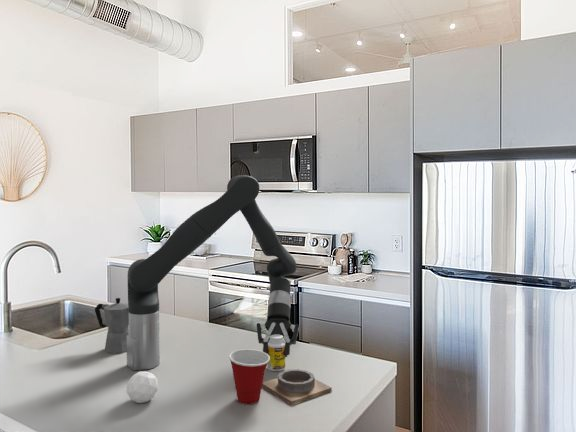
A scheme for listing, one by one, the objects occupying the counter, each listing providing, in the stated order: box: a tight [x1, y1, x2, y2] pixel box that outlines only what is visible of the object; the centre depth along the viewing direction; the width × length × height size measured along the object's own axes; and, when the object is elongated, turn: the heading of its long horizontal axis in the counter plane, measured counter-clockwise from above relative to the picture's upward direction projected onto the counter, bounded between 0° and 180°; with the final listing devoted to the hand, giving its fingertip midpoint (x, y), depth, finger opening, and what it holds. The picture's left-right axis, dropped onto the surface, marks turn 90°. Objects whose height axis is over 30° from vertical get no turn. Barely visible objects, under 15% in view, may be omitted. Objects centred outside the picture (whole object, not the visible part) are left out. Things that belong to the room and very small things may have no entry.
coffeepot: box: [94, 297, 129, 355], centre depth 156 cm, size 15×9×18 cm, turn 79°
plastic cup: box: [228, 348, 270, 405], centre depth 119 cm, size 11×11×12 cm
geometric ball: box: [126, 370, 159, 404], centre depth 118 cm, size 8×8×8 cm
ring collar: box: [262, 368, 333, 406], centre depth 126 cm, size 14×14×4 cm
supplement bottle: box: [266, 334, 286, 372], centre depth 140 cm, size 6×6×10 cm
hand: (276, 355), depth 138 cm, fingers closed on supplement bottle, 5 cm apart
